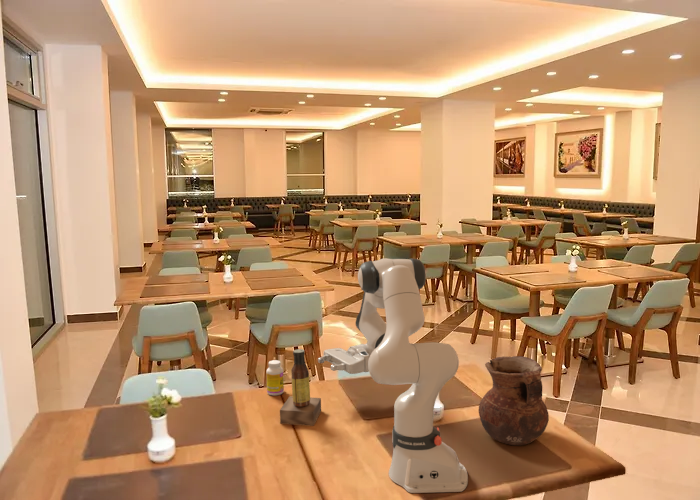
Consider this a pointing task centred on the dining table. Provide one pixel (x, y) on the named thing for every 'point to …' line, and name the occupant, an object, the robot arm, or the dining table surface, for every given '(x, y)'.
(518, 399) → the jug
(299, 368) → the sauce bottle
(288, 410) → the walnut block
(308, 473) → the dining table surface
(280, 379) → the supplement bottle
